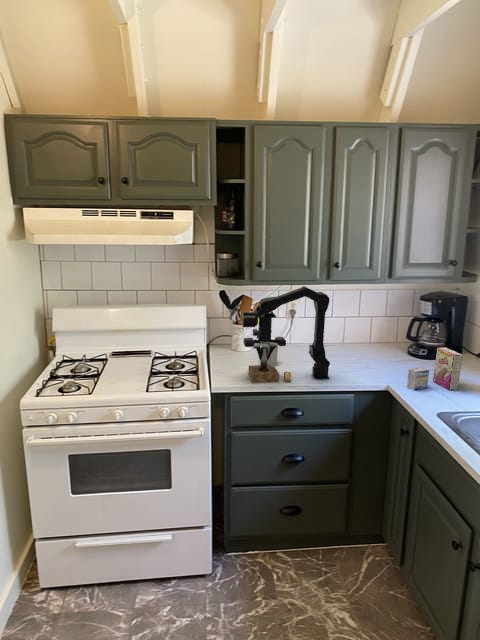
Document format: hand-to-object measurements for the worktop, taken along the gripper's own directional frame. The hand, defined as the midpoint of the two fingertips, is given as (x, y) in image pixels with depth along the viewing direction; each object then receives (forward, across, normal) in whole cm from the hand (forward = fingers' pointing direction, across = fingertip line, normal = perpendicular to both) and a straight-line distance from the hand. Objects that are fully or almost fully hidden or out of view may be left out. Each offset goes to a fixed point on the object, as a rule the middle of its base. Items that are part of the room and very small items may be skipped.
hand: (264, 359), depth 215 cm
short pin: (+9, -10, +5) cm, 14 cm away
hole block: (+9, 0, 0) cm, 9 cm away
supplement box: (+9, -7, -20) cm, 23 cm away
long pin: (+4, 0, 0) cm, 4 cm away
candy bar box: (+9, -80, +17) cm, 82 cm away
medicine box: (+9, -66, +18) cm, 69 cm away
